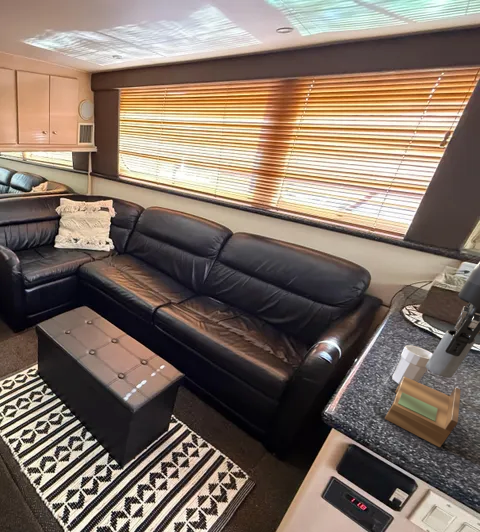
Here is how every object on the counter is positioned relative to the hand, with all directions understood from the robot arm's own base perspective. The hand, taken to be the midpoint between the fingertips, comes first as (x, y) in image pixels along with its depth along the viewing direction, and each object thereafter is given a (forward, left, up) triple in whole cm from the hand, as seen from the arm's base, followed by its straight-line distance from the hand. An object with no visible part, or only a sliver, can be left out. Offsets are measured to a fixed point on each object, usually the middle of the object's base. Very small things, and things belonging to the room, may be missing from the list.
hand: (452, 350), depth 74 cm
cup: (-15, -13, -22) cm, 30 cm away
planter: (0, 0, -7) cm, 7 cm away
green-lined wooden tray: (-4, -1, -22) cm, 22 cm away
